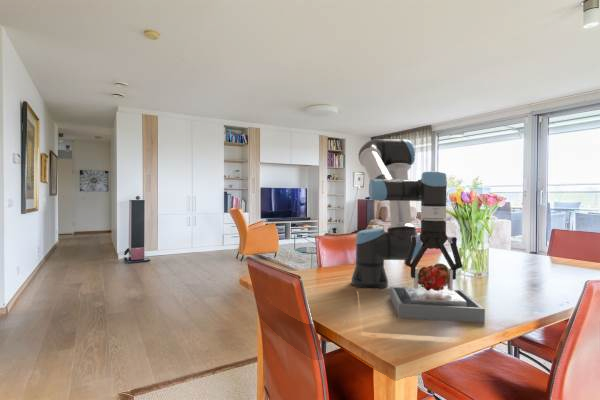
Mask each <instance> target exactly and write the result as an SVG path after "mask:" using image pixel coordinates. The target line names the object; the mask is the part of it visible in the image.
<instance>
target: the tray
mask: <svg viewBox="0 0 600 400" xmlns="http://www.w3.org/2000/svg"><path fill="white" fill-rule="evenodd" d="M453 290H454V291H455V292H456V293H457V294H459V295H460V296H461V297H462V298H463V299H464V300H465V301H466V307H458V306H439V305H419V304H405V303H404V301H403V292H404V286H402V287H399V286H390V296H389V297H390V300H391V301H390V302H392V305H393V307H394V310H395V313H396V315H397V317H398V319H410V320H427V321H428V320H429V321H443V322H444V321H445V322H460V323H461V322H464V323H477V324H478V323H479V324H481V323H484V324H485V318H486V317H485V316H486V314H485V311H486V309H485V307H483V306H482V305H481V304H479V302H477V301H476V300H475V299H473V298H472V297H471V296H469V295H468V293H466V292H465V291H464V290H462V289H453Z"/></svg>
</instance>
